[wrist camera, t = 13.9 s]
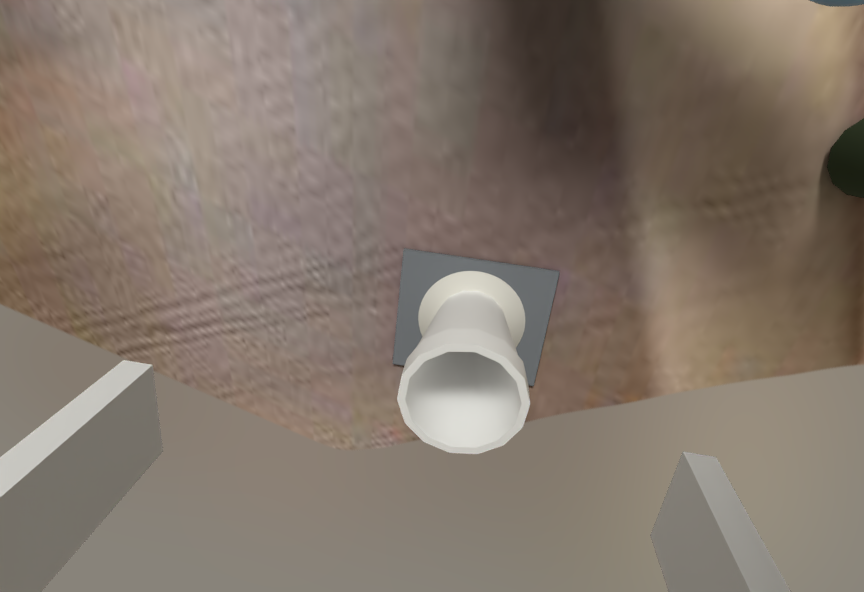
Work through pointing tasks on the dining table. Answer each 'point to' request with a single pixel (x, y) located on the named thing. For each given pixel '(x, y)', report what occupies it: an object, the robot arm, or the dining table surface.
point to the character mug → (849, 161)
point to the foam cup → (465, 378)
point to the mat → (447, 275)
